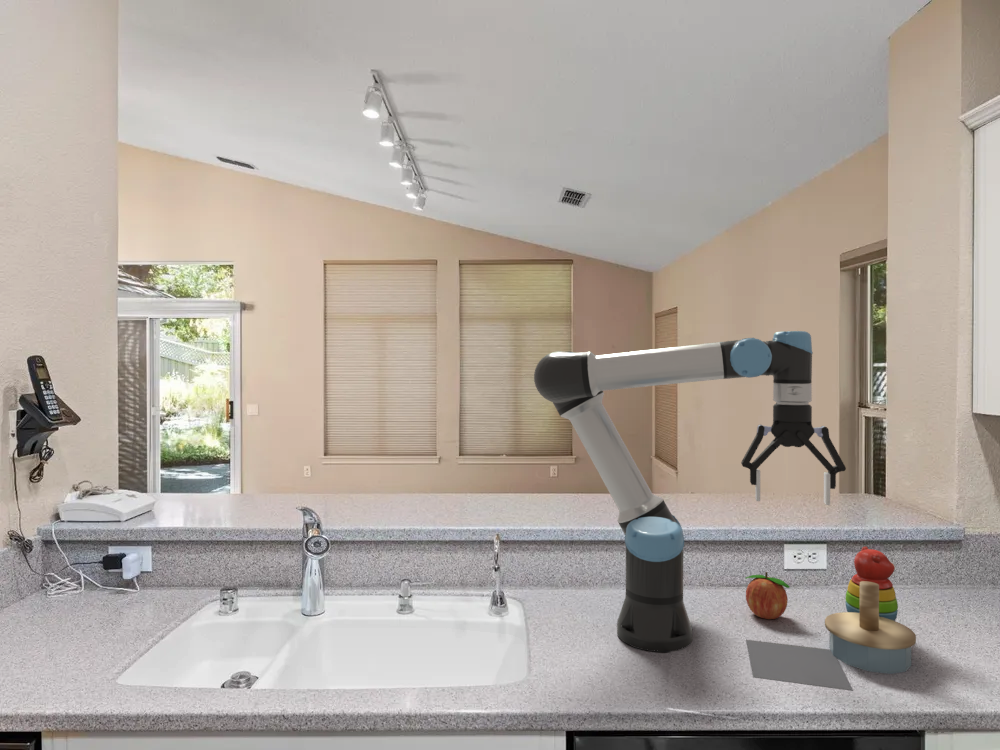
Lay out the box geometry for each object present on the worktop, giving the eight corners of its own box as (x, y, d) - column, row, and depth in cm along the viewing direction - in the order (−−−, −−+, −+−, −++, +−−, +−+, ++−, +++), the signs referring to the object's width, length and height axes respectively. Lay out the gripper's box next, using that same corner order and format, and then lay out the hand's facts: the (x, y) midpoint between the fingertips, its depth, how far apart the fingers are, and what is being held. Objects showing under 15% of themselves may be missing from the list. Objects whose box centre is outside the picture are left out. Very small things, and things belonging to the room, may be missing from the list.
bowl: (838, 668, 116) (838, 641, 115) (824, 639, 128) (824, 614, 128) (920, 679, 112) (920, 651, 112) (897, 647, 124) (897, 622, 124)
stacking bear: (911, 648, 124) (911, 559, 123) (855, 643, 126) (855, 556, 126) (889, 626, 134) (890, 543, 134) (838, 622, 136) (838, 541, 136)
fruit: (777, 628, 133) (777, 582, 133) (735, 614, 141) (735, 570, 141) (796, 618, 139) (796, 573, 139) (755, 605, 146) (755, 563, 146)
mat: (753, 678, 112) (753, 676, 112) (745, 640, 127) (745, 639, 127) (853, 692, 107) (853, 690, 107) (833, 651, 123) (833, 649, 123)
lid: (832, 642, 115) (832, 593, 115) (819, 612, 129) (819, 568, 129) (927, 654, 110) (927, 602, 110) (903, 621, 124) (903, 575, 124)
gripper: (731, 403, 134) (731, 501, 135) (862, 405, 127) (861, 509, 127) (729, 401, 141) (729, 495, 142) (853, 403, 134) (852, 501, 134)
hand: (791, 502), depth 134 cm, fingers open, 13 cm apart
